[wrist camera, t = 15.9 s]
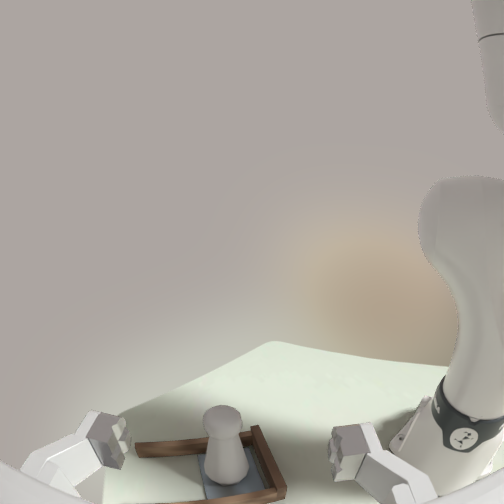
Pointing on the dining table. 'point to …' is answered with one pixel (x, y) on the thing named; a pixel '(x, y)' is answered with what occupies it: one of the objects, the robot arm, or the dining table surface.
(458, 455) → the robot arm
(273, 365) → the dining table surface
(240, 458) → the salt shaker
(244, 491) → the bay
